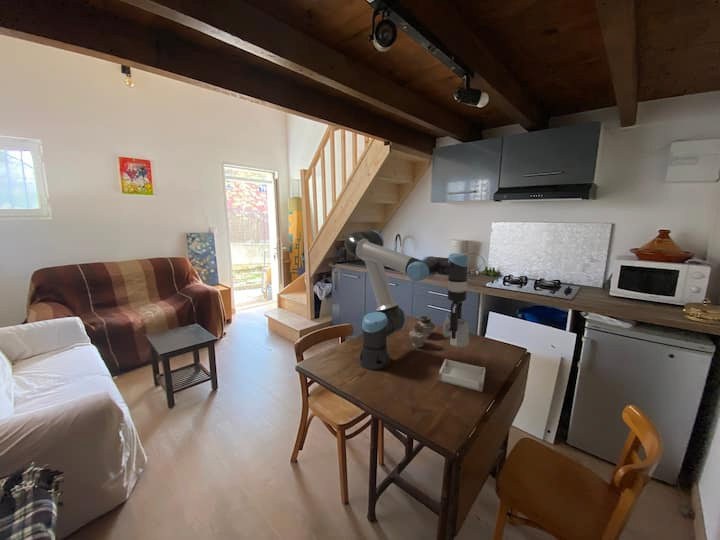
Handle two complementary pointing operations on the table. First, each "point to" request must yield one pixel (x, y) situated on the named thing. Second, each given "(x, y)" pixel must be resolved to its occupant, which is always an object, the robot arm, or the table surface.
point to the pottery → (421, 331)
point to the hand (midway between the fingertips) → (455, 341)
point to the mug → (462, 331)
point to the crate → (462, 375)
